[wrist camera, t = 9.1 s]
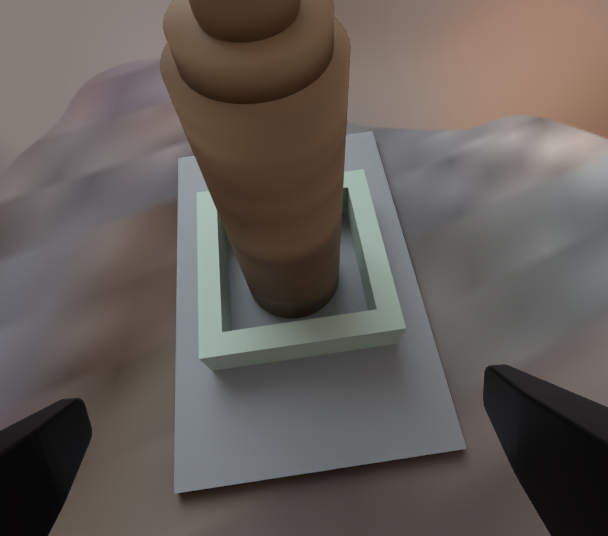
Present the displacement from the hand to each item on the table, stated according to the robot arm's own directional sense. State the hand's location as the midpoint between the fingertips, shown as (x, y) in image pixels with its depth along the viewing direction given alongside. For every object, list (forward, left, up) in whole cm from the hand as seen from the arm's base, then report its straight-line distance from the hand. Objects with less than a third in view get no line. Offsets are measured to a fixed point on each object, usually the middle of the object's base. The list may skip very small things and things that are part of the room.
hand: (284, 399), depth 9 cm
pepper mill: (+7, -1, -9) cm, 12 cm away
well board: (+8, -1, -9) cm, 12 cm away
